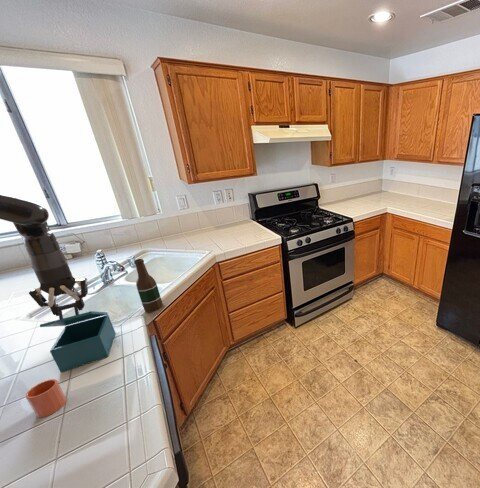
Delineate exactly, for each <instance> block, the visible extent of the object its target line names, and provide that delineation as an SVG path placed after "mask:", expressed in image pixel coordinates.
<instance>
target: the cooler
mask: <svg viewBox="0 0 480 488" xmlns="http://www.w3.org/2000/svg"><path fill="white" fill-rule="evenodd" d="M115 336H116V330H115V328H114V326H113V323H112V320H111V318H110V316H109V313H108V314H107V315H103V316H100V317H96V318H92V319H88V320H85V321H81V322H77V323H74V324H70V325H66V326H64V327H63V329H62V331H61V332H60V334H59V335H58V337H57V339H56V340H55V342H54V344H53V345H52V346H51V348H50V350H49V352H50V354H51V356H52V358H53V360H54V362H55V365H56V366H57V368H58V370H59V372H60V373H64V372H67V371H70V370H73V369H75V368H79V367H82V366H85V365H87V364H91V363H94V362H97V361H100V360H103V359H106V358H108V357H109V356H110V352H111V349H112V345H113V342H114V339H115ZM96 360H97V361H96ZM93 361H94V362H93Z"/></svg>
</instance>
